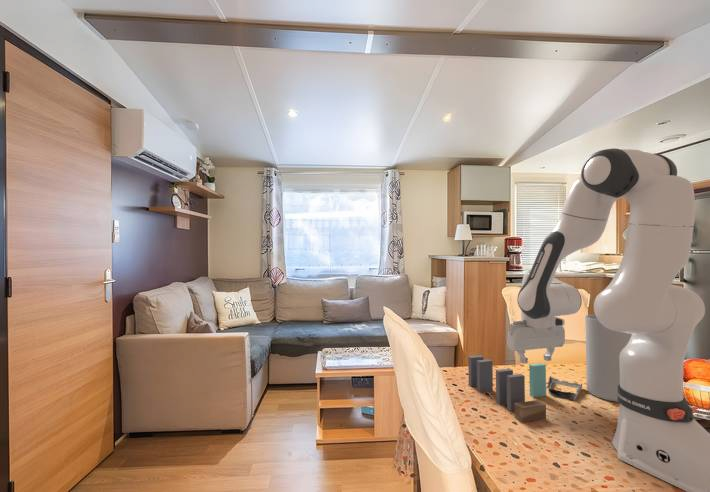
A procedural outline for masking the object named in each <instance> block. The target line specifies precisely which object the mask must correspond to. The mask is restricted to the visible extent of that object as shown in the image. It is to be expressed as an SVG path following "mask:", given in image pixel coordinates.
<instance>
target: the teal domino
mask: <svg viewBox="0 0 710 492" xmlns="http://www.w3.org/2000/svg"><path fill="white" fill-rule="evenodd" d="M546 367H547V365H546V364H545V363H543V362H541V363H532V364H529V365H528V368H529V371H528V372H529V376H528V377H529V396H530V397H532V398H539V397H546V396H547V369H546Z"/></svg>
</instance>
